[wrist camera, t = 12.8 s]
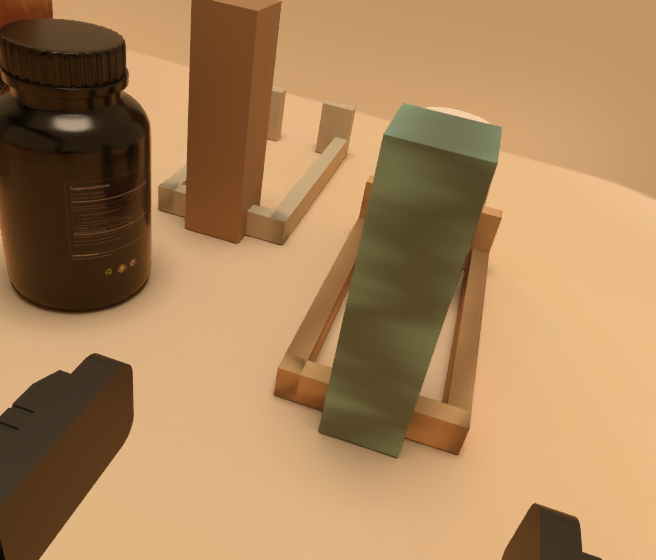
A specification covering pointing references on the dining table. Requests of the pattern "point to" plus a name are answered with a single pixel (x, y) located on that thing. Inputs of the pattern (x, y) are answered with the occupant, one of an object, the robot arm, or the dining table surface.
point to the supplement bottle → (72, 166)
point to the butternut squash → (24, 11)
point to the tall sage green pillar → (404, 290)
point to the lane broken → (242, 127)
